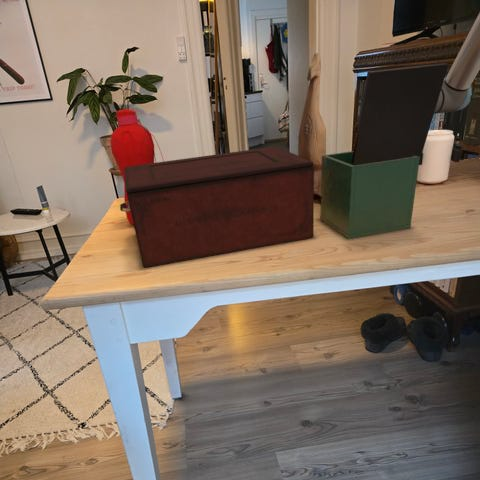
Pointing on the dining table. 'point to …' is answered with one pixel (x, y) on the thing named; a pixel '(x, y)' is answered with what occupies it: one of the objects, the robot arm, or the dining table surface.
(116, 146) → the water bottle
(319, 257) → the dining table surface
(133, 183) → the storage box
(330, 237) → the dining table surface
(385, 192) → the green cube bin
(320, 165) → the bird sculpture
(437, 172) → the beverage can
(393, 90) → the black flat panel
